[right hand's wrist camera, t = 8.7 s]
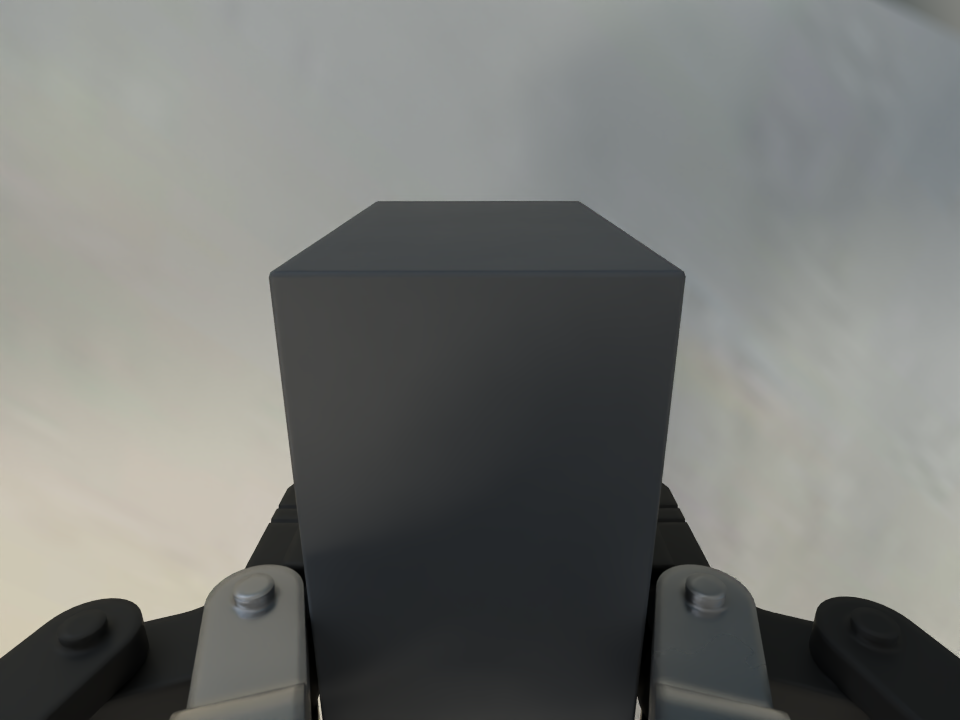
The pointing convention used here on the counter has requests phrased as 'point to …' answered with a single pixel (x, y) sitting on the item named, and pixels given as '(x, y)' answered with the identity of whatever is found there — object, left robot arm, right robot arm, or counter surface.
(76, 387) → the counter surface
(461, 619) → the beam
